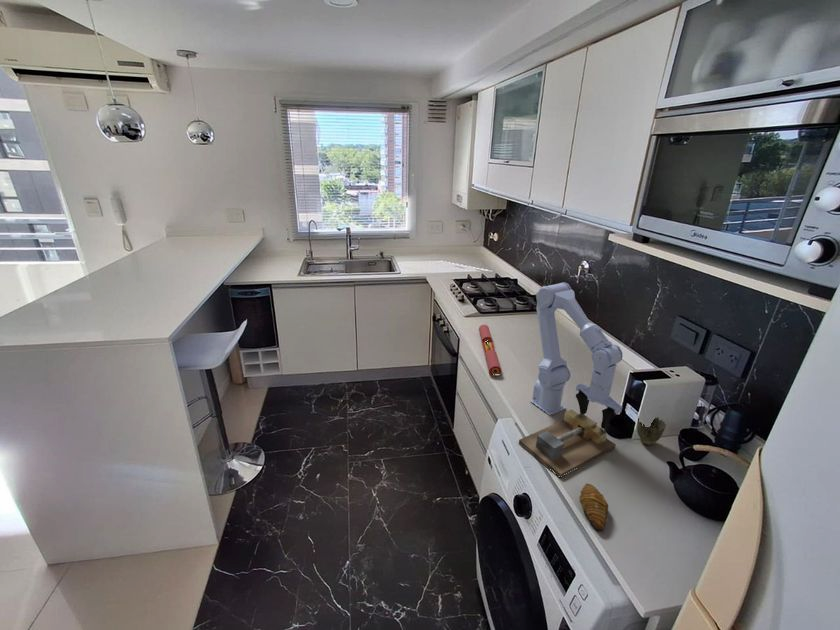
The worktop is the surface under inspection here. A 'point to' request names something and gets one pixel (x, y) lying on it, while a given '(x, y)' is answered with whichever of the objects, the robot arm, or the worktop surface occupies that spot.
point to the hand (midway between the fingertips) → (593, 420)
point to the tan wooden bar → (585, 426)
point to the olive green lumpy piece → (650, 431)
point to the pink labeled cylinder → (489, 351)
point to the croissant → (594, 506)
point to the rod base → (564, 447)
